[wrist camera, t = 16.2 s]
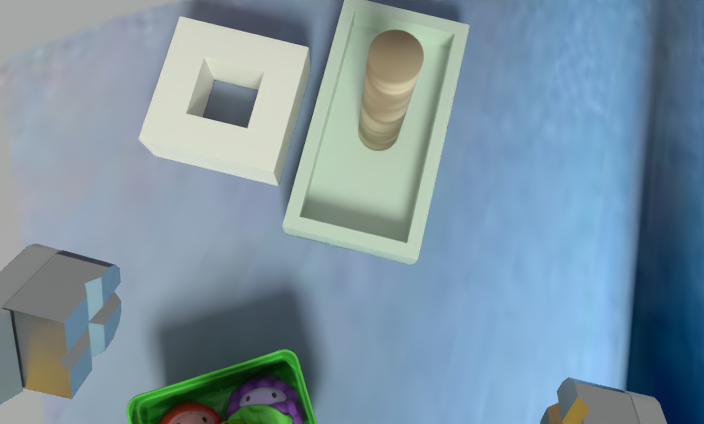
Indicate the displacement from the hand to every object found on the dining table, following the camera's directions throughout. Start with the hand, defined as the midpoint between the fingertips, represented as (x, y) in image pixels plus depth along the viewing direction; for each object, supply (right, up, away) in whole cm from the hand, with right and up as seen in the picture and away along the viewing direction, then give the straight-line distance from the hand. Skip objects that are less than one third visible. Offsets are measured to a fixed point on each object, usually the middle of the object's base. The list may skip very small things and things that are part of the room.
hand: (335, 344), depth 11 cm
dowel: (+2, +9, +36) cm, 37 cm away
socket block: (-9, +10, +37) cm, 39 cm away
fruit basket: (-8, -13, +32) cm, 36 cm away
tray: (+2, +9, +37) cm, 38 cm away
